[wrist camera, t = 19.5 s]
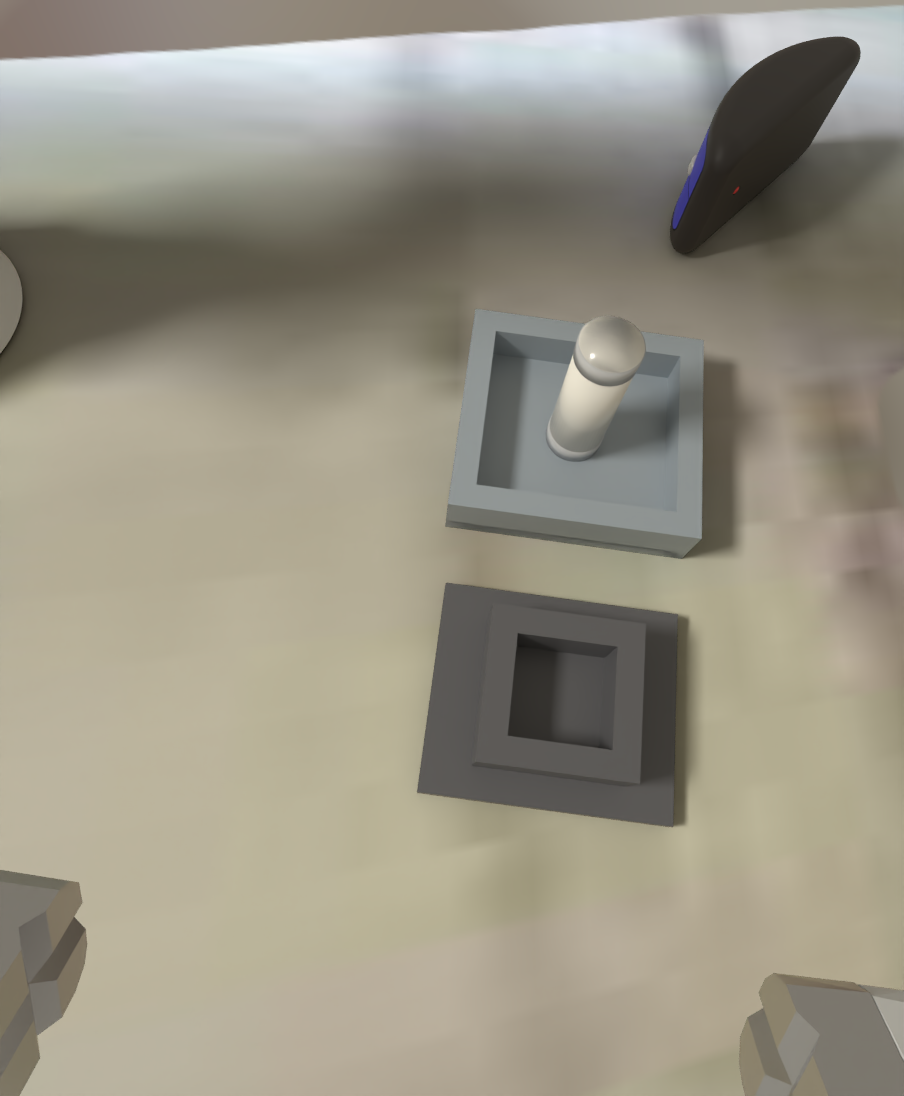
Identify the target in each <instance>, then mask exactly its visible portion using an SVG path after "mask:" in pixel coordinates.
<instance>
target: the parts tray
mask: <svg viewBox="0 0 904 1096" xmlns="http://www.w3.org/2000/svg"><path fill="white" fill-rule="evenodd" d="M584 325H585V324H583V323H576V322H568V321H561V320H554V319H547V318H539V317H532V316H525V315H518V314H510V313H503V312H496V311H489V310H481V309H475V316H474V323H473V330H472V337H471V344H470V352H469V359H468V366H467V373H466V380H465V387H464V394H463V401H462V408H461V415H460V422H459V430H458V437H457V444H456V451H455V458H454V465H453V472H452V479H451V486H450V493H449V500H448V508H447V517H446V526H447V527H454V528H462V529H469V530H476V531H483V532H491V533H498V534H505V535H513V536H520V537H527V538H534V539H542V540H549V541H556V542H564V543H571V544H578V545H585V546H593V547H600V548H607V549H615V550H622V551H629V552H637V553H644V554H651V555H658V556H666V557H673V558H680V559H682V558H683V557H684V556H685V555H686V554H687V553H688V552H689V551H690V550H691V549H692V548H693V547H694V546H695V545H696V544H697V543H698V542H699V541H700V540H701V539H702V463H703V357H704V340H699V339H691V338H684V337H677V336H670V335H663V334H655V333H648V332H641V331H640V332H641V333H642V335H643V337H644V340H645V344H646V353H645V356H644V358H643V360H642V362H641V364H640V366H639V368H638V370H637V372H636V374H635V375H634V377H633V378H632V380H631V382H630V384H629V386H628V388H627V390H626V392H625V394H624V396H623V398H622V400H621V402H620V404H619V407H618V409H617V411H616V413H615V415H614V417H613V419H612V421H611V423H610V425H609V427H608V429H607V431H606V433H605V435H604V438H603V440H602V442H601V444H600V446H599V448H598V450H597V452H596V453H595V454H594V455H593V456H592V457H590V458H589V459H587V460H584V461H580V462H571V461H566V460H564V459H561V458H559V457H558V456H556V455H555V454H554V453H553V452H552V451H551V449H550V448H549V446H548V444H547V441H546V429H547V426H548V423H549V420H550V418H551V416H552V414H553V411H554V408H555V405H556V402H557V400H558V397H559V394H560V391H561V388H562V385H563V382H564V379H565V376H566V373H567V370H568V368H569V365H570V362H571V359H572V356H573V351H574V347H575V344H576V341H577V339H578V336H579V333H580V331H581V329H582V327H583V326H584Z"/></svg>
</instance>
